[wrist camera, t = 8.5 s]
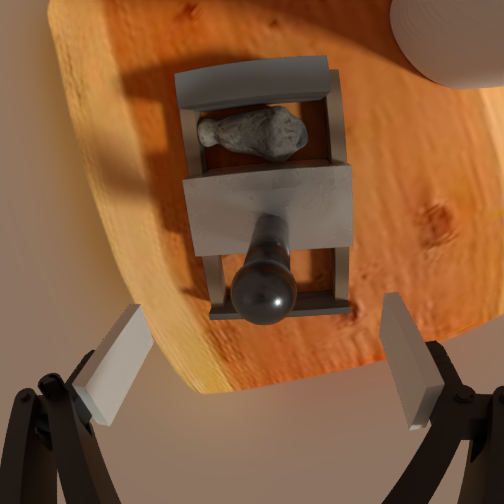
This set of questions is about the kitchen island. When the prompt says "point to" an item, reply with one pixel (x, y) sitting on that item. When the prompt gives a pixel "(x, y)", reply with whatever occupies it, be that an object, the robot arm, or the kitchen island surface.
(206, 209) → the ram
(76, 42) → the kitchen island surface
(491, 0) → the vase
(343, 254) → the grey rectangular frame
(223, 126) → the stone
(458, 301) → the kitchen island surface
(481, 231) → the kitchen island surface
